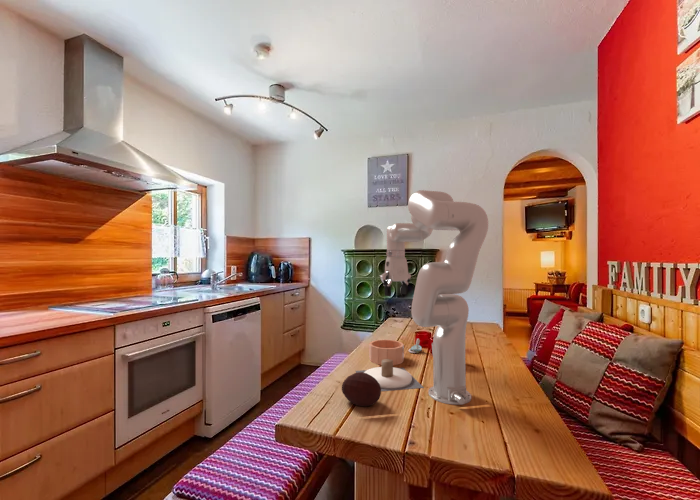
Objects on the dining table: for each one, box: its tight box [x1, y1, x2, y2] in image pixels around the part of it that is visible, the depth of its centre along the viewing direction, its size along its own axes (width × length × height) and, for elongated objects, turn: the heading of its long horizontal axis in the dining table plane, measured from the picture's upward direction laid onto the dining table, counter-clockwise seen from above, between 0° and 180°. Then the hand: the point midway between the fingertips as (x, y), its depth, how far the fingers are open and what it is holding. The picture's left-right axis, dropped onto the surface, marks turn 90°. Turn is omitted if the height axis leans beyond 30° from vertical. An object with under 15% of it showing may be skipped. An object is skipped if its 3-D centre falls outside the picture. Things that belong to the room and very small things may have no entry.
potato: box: [341, 372, 382, 407], centre depth 91 cm, size 9×12×9 cm
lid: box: [364, 359, 413, 389], centre depth 109 cm, size 17×17×6 cm
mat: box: [355, 367, 425, 392], centre depth 109 cm, size 19×19×1 cm
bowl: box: [368, 339, 405, 366], centre depth 130 cm, size 14×14×7 cm
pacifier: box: [407, 338, 422, 354], centre depth 143 cm, size 7×6×6 cm
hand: (396, 294), depth 131 cm, fingers open, 9 cm apart
